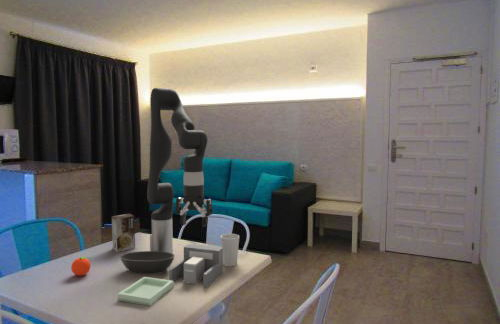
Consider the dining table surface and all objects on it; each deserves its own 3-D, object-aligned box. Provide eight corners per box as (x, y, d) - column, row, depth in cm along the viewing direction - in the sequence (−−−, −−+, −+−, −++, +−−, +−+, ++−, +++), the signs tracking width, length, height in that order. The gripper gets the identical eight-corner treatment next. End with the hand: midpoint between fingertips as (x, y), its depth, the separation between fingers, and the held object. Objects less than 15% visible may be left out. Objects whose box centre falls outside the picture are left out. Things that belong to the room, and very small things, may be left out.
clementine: (85, 269, 153) (85, 252, 152) (96, 273, 149) (96, 255, 149) (67, 276, 146) (67, 258, 146) (78, 279, 143) (78, 261, 142)
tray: (117, 300, 125) (117, 293, 125) (144, 282, 140) (144, 276, 140) (150, 305, 122) (149, 298, 121) (173, 287, 136) (173, 280, 136)
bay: (168, 282, 141) (168, 256, 140) (188, 267, 156) (188, 244, 155) (206, 287, 136) (206, 261, 135) (222, 272, 151) (222, 247, 150)
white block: (183, 283, 140) (182, 263, 140) (193, 274, 148) (193, 256, 148) (195, 284, 139) (194, 265, 138) (204, 276, 147) (204, 257, 146)
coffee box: (130, 245, 186) (129, 213, 185) (135, 248, 181) (134, 215, 180) (112, 248, 180) (111, 215, 179) (116, 252, 175) (116, 218, 174)
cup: (240, 260, 164) (240, 234, 163) (237, 267, 156) (237, 239, 155) (222, 260, 165) (222, 233, 164) (219, 266, 157) (219, 238, 156)
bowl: (171, 276, 146) (171, 261, 146) (115, 276, 147) (115, 260, 146) (177, 265, 158) (177, 251, 158) (126, 265, 159) (125, 250, 158)
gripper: (171, 183, 140) (172, 226, 141) (206, 185, 135) (207, 229, 136) (181, 181, 147) (182, 221, 148) (214, 182, 142) (215, 224, 144)
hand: (194, 225), depth 142 cm, fingers open, 8 cm apart
